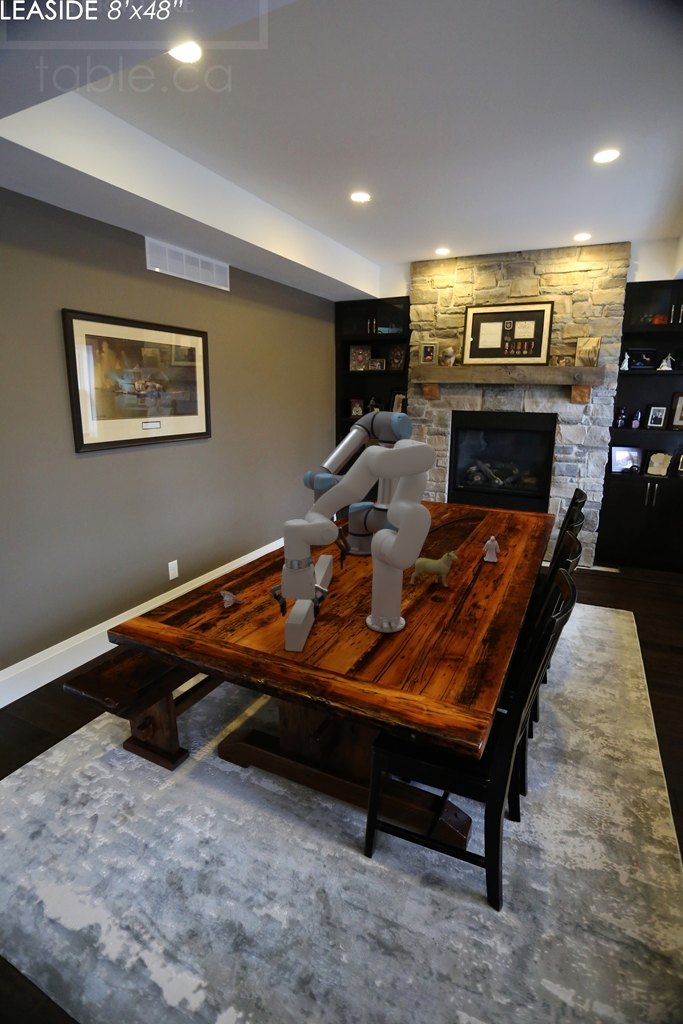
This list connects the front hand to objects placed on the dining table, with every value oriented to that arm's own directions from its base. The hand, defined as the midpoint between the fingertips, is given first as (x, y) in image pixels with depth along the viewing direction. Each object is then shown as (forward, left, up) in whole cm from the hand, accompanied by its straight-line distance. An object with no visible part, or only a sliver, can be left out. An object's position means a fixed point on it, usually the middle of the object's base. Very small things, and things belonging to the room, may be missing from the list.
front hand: (300, 615), depth 150 cm
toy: (+41, -52, -8) cm, 66 cm away
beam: (+23, -4, -8) cm, 24 cm away
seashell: (+25, +24, -8) cm, 36 cm away
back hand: (+46, -9, -2) cm, 47 cm away
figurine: (+69, -85, -8) cm, 110 cm away
